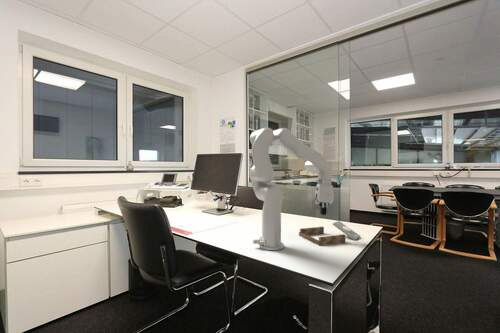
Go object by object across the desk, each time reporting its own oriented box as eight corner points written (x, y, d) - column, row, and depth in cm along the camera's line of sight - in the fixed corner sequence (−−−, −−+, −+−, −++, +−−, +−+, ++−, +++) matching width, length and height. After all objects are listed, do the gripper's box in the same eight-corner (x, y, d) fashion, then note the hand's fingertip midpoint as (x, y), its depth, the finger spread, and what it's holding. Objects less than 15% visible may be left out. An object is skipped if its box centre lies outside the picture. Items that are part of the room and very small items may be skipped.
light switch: (356, 238, 126) (333, 221, 135) (351, 246, 128) (329, 229, 137) (361, 234, 132) (339, 219, 141) (356, 242, 134) (335, 227, 143)
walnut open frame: (319, 245, 118) (319, 237, 118) (298, 235, 136) (298, 228, 136) (345, 242, 123) (345, 234, 123) (322, 233, 142) (322, 226, 142)
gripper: (317, 182, 125) (316, 215, 124) (339, 183, 130) (338, 215, 129) (309, 181, 132) (308, 213, 131) (330, 182, 137) (329, 213, 136)
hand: (323, 214), depth 130 cm, fingers closed
